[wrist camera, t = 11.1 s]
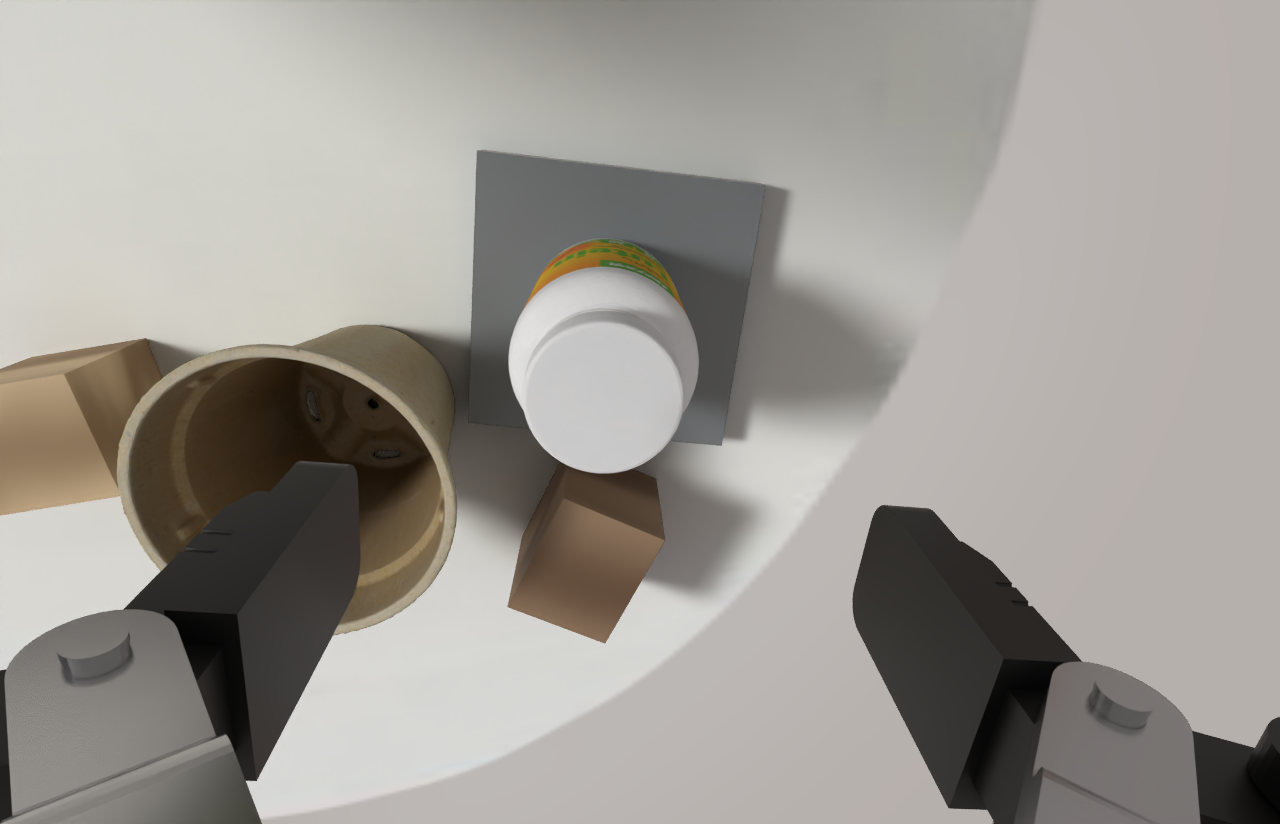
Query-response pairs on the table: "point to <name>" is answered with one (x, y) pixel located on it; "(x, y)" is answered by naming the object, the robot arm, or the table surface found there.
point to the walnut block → (587, 549)
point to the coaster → (618, 209)
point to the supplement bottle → (603, 357)
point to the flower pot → (303, 450)
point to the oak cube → (68, 423)
